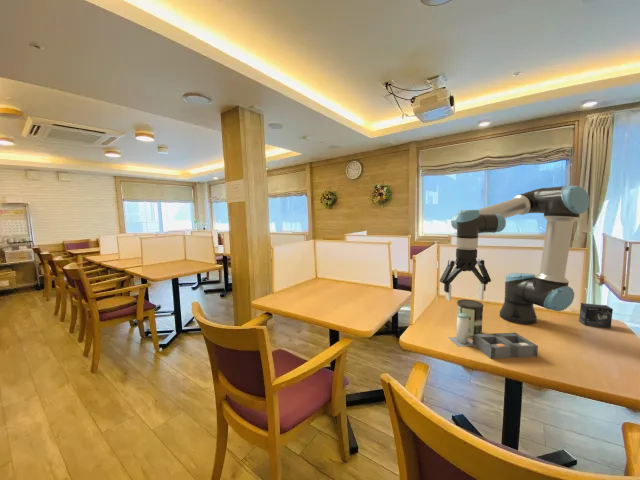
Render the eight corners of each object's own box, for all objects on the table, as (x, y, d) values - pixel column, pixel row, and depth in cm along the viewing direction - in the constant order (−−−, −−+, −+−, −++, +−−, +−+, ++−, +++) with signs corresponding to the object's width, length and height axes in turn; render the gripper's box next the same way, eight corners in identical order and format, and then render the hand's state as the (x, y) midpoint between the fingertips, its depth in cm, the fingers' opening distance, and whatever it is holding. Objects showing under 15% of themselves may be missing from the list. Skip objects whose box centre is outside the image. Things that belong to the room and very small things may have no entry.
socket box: (514, 343, 112) (515, 331, 111) (537, 357, 101) (538, 345, 100) (472, 345, 111) (473, 333, 110) (490, 359, 100) (491, 347, 99)
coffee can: (476, 329, 125) (478, 299, 124) (485, 339, 115) (487, 307, 114) (453, 327, 127) (454, 298, 126) (459, 337, 117) (460, 306, 116)
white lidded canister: (464, 338, 115) (465, 312, 114) (470, 343, 111) (471, 316, 110) (454, 339, 115) (455, 313, 114) (459, 344, 111) (460, 317, 110)
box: (584, 325, 126) (586, 306, 125) (578, 321, 131) (580, 302, 130) (611, 328, 123) (613, 308, 122) (604, 324, 128) (605, 304, 127)
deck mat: (465, 337, 117) (465, 336, 117) (477, 346, 109) (477, 345, 109) (447, 338, 117) (447, 337, 117) (457, 347, 109) (458, 346, 109)
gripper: (490, 246, 113) (487, 295, 115) (432, 247, 112) (430, 297, 114) (503, 248, 105) (500, 301, 108) (441, 250, 104) (439, 303, 106)
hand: (464, 299), depth 111 cm, fingers open, 13 cm apart
